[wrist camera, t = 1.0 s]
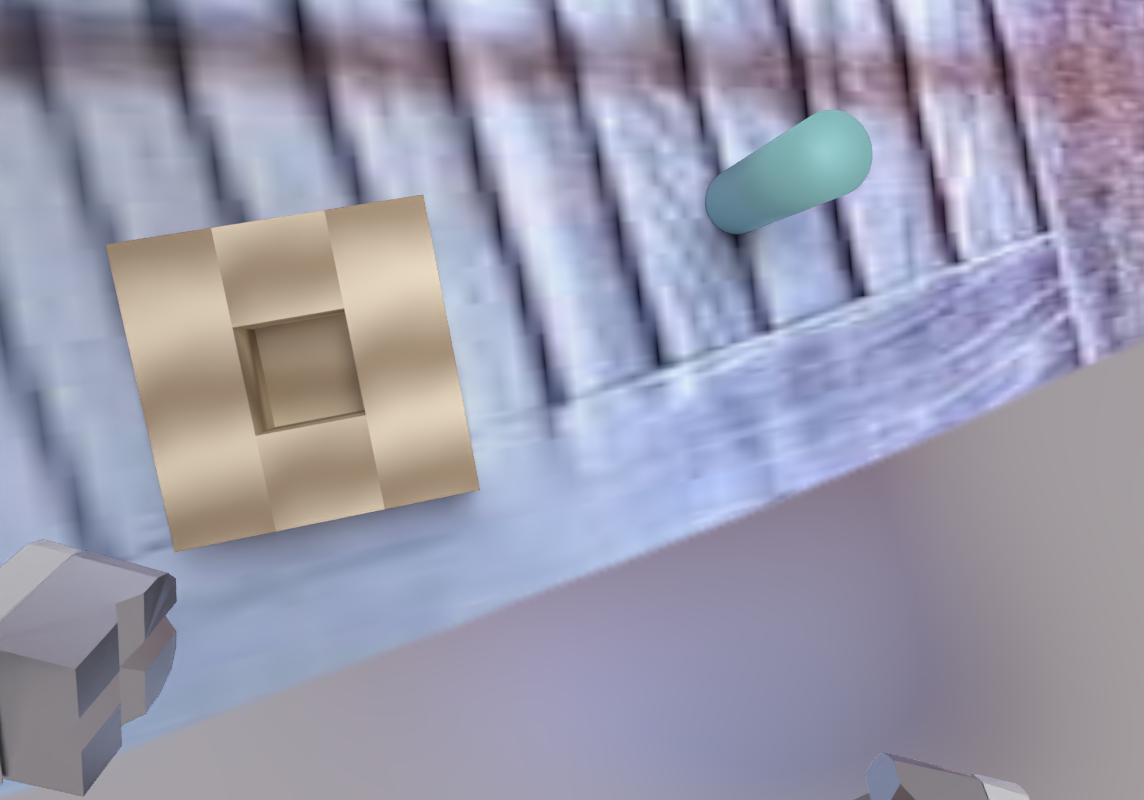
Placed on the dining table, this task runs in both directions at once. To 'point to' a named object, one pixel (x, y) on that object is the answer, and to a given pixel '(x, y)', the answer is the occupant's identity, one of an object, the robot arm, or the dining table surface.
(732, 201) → the teal pin
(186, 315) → the maple block
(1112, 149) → the dining table surface
